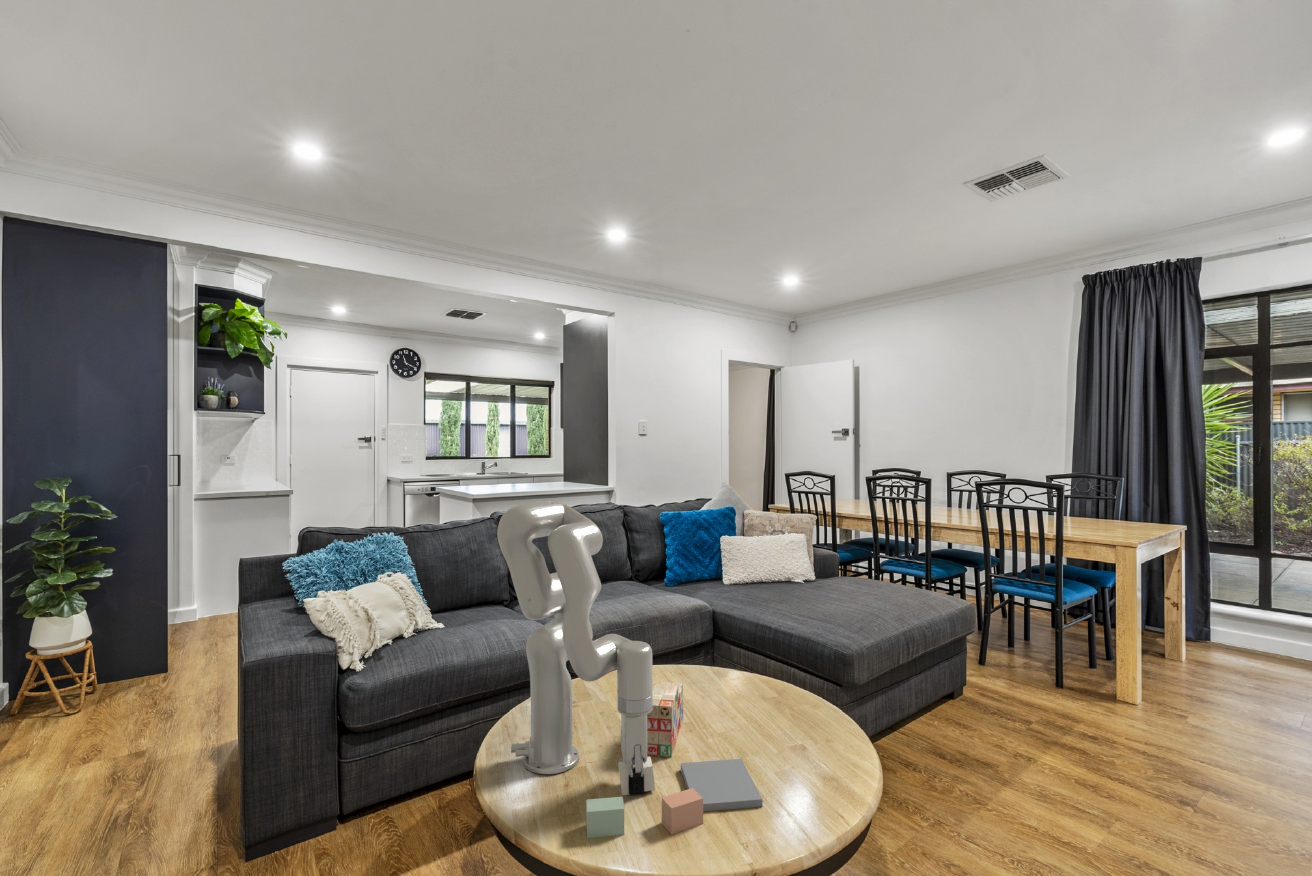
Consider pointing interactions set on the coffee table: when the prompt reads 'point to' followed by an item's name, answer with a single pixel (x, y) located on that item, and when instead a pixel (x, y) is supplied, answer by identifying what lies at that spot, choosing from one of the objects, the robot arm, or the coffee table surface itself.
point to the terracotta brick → (682, 810)
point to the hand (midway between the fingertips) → (635, 787)
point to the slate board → (722, 784)
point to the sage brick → (605, 817)
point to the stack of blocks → (664, 719)
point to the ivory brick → (647, 772)
